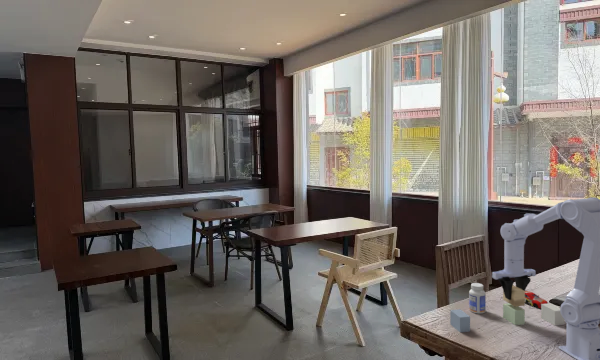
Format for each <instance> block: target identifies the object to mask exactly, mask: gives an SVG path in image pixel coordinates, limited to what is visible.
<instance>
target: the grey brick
mask: <svg viewBox="0 0 600 360" xmlns="http://www.w3.org/2000/svg"><path fill="white" fill-rule="evenodd" d="M540 310H541V312H540V319H542V320H543V321H545V322H547V323H549V324H551V325H553V326H554V327H555V326H557V327H558V326H565V320H564V318H563V317H562V315H561V312H560V307H559V306H557V305H555V304H553V303H551V302H549V303H548V304H541V308H540Z"/></svg>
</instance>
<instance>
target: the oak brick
mask: <svg viewBox="0 0 600 360" xmlns="http://www.w3.org/2000/svg"><path fill="white" fill-rule="evenodd" d="M502 300H503V301H504V302H506V303H510V304H511V305H513V306H519V307H522V306H524V307H525V305H526V303H525V291H524V290H522V289H520V288H518V287H516V285H514V284H513V286H512V296H511V300H509V299H507V298H505V294H504V291H503V290H502Z"/></svg>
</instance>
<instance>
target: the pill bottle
mask: <svg viewBox="0 0 600 360" xmlns="http://www.w3.org/2000/svg"><path fill="white" fill-rule="evenodd" d="M468 298H469V299H468V301H469V302H468V305H469V307H468V309H469V311H470V312H471V313H474V314H479V315H480V314H484V313H486V311H487V310H486V307H487V306H486V305H487V304H486V300H487V299H486V292H485V290H484V285H483V284H482V283H479V282H472V283H471V284H470V290H469V291H468Z"/></svg>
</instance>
